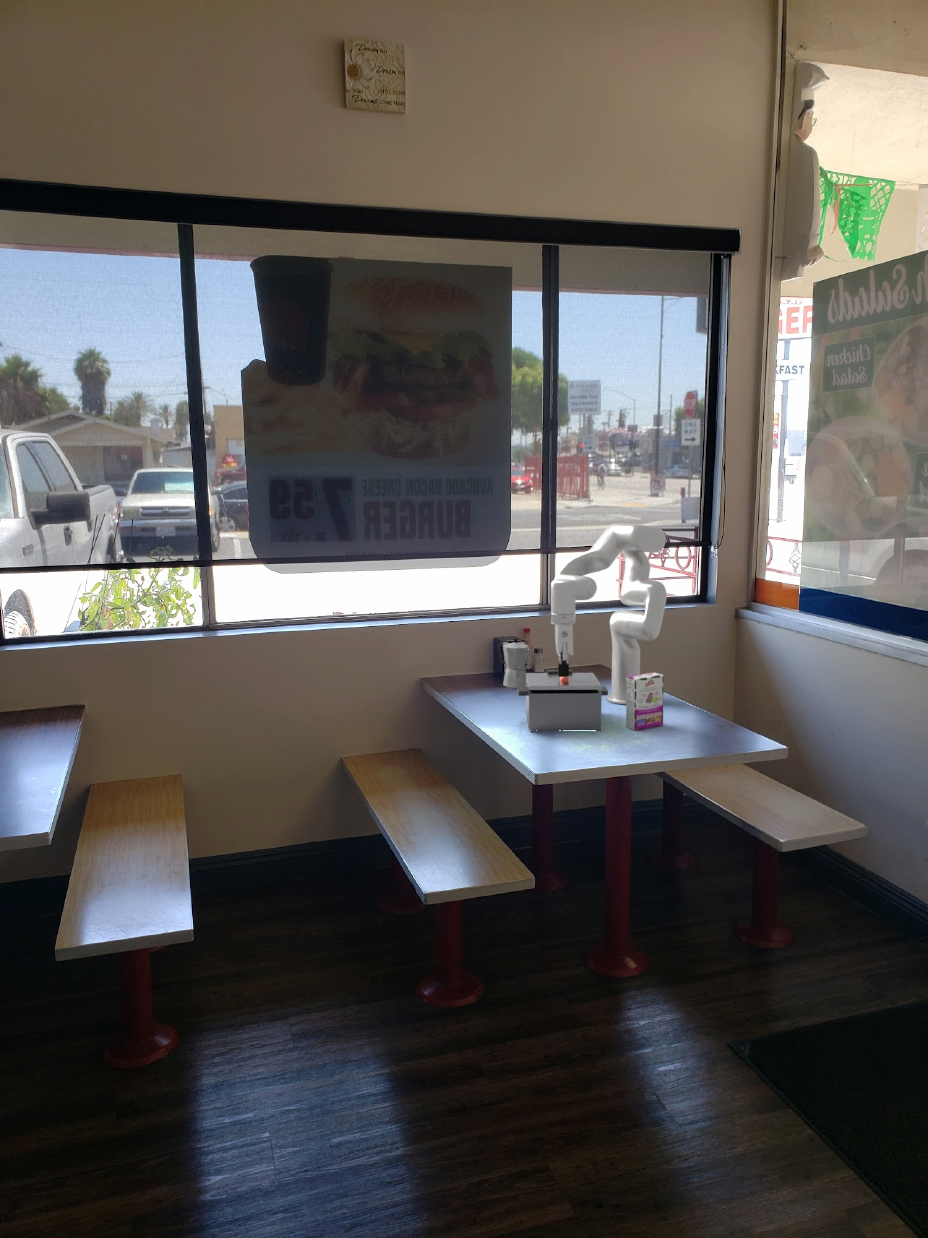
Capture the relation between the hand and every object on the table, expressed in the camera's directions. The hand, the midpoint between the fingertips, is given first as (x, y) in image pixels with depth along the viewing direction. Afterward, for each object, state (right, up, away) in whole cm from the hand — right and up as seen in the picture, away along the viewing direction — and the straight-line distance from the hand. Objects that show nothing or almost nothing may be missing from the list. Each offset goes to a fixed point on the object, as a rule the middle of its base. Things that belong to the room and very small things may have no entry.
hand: (563, 675), depth 283 cm
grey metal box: (0, -15, +3) cm, 15 cm away
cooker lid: (0, -2, +1) cm, 3 cm away
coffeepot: (-13, -7, +52) cm, 54 cm away
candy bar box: (+25, -16, -3) cm, 30 cm away
